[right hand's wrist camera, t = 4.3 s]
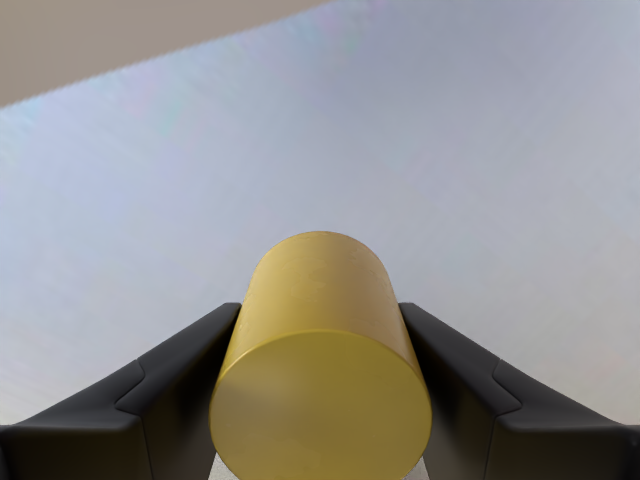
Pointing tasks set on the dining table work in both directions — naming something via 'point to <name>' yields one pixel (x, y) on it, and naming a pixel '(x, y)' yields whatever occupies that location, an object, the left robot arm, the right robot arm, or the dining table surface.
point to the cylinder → (320, 370)
